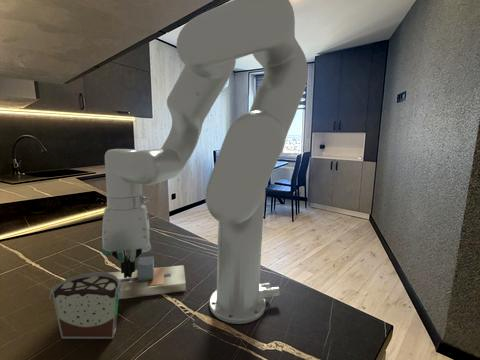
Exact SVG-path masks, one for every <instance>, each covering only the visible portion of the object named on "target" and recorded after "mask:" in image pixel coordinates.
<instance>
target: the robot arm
mask: <svg viewBox="0 0 480 360" xmlns="http://www.w3.org/2000/svg"><path fill="white" fill-rule="evenodd" d="M295 27H296V20H295V12H294V9H293V5H292V4H291V2H290V0H230V1H228V2H227V3H222V4H221V5H218V6H215V7H212V8H211V9H209V10H207V11H205V12H202V13H200V14H199V15H196V16H194V17H193V18H192V19H190V20H189V21H188V22H187V23H185V24H184V25H183V26H182V28H181V30H180V31H179V33H178V35H177V39H176V52H177V55H178V57H179V59H180V61H181V62H182V63H183V64H184V67H183V69H182V70H181V73H180V74H179V76H178V78H177V80H176V82H175V84H174V85H173V88H172V89H171V91H170V92H169V95H168V96H167V99H166V105H167V108H168V111H169V114H170V116H171V127H170V131H169V133H168V135H167V138H166V140H165V141H164V143H163V145H162V147H161V148H155V149H154V148H153V149H142V150H136V149H133V148H131V149H130V148H113V149H108V150H107V151H106V152H105V154H104V171H105V187H106V203H107V204H106V205H107V206H106V207H105V208H104V210H103V211H104V212H103V217H102V231H101V233H102V234H101V237H102V238H101V242H102V243H101V244H102V253H101V254H102V256H112V257H114V258H115V259H116V260H118V262H119V263H120V272H121V273H124V278H127V277H129V278H131V277H132V273H133V272H135V270H136V259H137V258H139V256H140V255H141V254H144V253H146V252H147V253H148V252H150V251H151V250H152V245H151V242H150V239H151V230H150V220H149V213H148V209H147V205H145V203H149V202H150V197H149V196H145V195H144V193H143V186H153V185H156V184H159V183H163V182H164V181H168V180H171V179H174V178H175V177H177V176H178V175H180V173H181V172H182V171H183V169H184V168H185V166H186V164H187V163H188V162H189V159H191V157H192V155H193V153H194V152H195V149H196V147H197V145H198V141H199V139H200V135H201V132H202V128H203V124H204V122H205V119H206V118H207V116H208V114H209V113H210V111H211V109H212V107H213V105H214V104H215V102H216V101H217V99H218V97H219V95H220V94H221V92H222V91H223V89H224V88H225V86H226V84H227V83H228V81H229V80H230V77H231V76H232V74H233V72H234V70H235V68H236V61H237V59H240V58H243V57H247V56H250V55H252V56H253V57H254V59H255V60H256V61H257V62H258V63H259V65H261V67H262V68H263V77H262V80H261V81H260V84H259V85H258V88H257V90H256V93H255V96H254V99H253V102H252V105H251V106H250V109H249V111H248V112H247V111H246V112H245V113H243V114H241V115H239V116H238V117H237V118H236V119H235V120H234V121H233V122H232V124H231V125H230V126H229V128H228V130H227V132H226V134H225V137H224V139H223V141H222V145H221V147H220V149H219V153H218V156H217V158H216V160H215V163H214V167H213V169H212V171H211V174H210V177H209V179H208V181H207V186H206V189H205V203H206V204H205V205H206V207H207V210H208V212H209V213H210V215H211V216H212V217H213V218H214V219H215V220H216V221H218V224H217V225H218V227H217V229H218V230H217V259H216V260H217V262H216V263H217V264H216V267H217V268H216V269H217V270H216V289H215V291H214V292H213V293H211V295H210V298H209V308H210V309H209V310H210V311H211V313H212V314H213V315H214V316H215V317H216V318H218V320H221V321H223V322H225V323H228V324H235V325H236V324H237V325H242V324H248V323H252V322H254V321H256V320H259V318H261V317H262V316H263V314H264V312H265V310H266V304H267V303H266V299H267V298H268V297H277V296H280V295H281V292H280V288H279V286H271V283H270V282H263V283H261V282H260V281H261V259H262V242H263V227H264V226H263V225H264V214H265V202H266V188H267V186H268V183H269V182H270V179H271V177H272V175H273V172H274V169H275V167H276V165H277V162H278V160H279V158H280V156H281V154H282V152H283V150H284V147H285V143H286V139H287V136H288V133H289V131H290V129H291V125H292V124H293V121H294V118H295V117H296V114H297V110H298V108H299V105H300V104H301V101H302V97H303V95H304V93H305V89H306V87H307V84H308V83H307V82H308V77H309V76H308V75H309V68H308V61H307V58H306V54H305V52H304V50H303V49H302V47H301V45H300V44H299V42H298V41H297V39H296V33H295ZM126 251H130V252H129V253H130V254H129V257H128V256H127V253H126Z"/></svg>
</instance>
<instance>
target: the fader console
mask: <svg viewBox="0 0 480 360" xmlns="http://www.w3.org/2000/svg"><path fill="white" fill-rule="evenodd" d="M109 273H110V274H113V275H115V276H116V277H117V278H118V280H119V281H120V284H121V287H122V296H121V298H120V299H119V298H118V300H122V299H129V298H138V297H146V296H155V295H162V294H170V293H176V292H179V293H180V292H186V291H187V283H186V274H185V273H186V272H185V265H173V266H172V265H171V266H162V267H154V276H153V280H148V281H139V282H138V276H137V269H135V272H133V273H132V277H131V278H129V277H127V278H124V273H121V271H113V272H109Z"/></svg>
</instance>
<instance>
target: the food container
mask: <svg viewBox="0 0 480 360" xmlns="http://www.w3.org/2000/svg"><path fill="white" fill-rule="evenodd" d="M110 273H111V272H100V271H98V272H97V271H95V272H89V273H83V274H78V275H76V276H71V277H69V278H67V279H64V280H62V281H61V282H59V283H57V284H55V285H54V286H53V287H51V291H50V292H49V297H48V299H49V300H51V299H52V298H53V304H54V305H53V306H54V309H55V313H56V318H57V322H58V327H59V333H60V338H61V339H114V338H115V336H116V335H117V333H116V332H117V321H118V309H119V308H118V306H119V300H121V299H120V298H121V296H122V287H121V284H120V281H119V280H118V278H117V277H116V276H115V275H113V274H110ZM118 298H119V299H118Z"/></svg>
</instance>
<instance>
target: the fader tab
mask: <svg viewBox="0 0 480 360" xmlns="http://www.w3.org/2000/svg"><path fill="white" fill-rule="evenodd" d="M154 268H155V256H153V255H152V256H151V255H150V256H142V257H139V256H138V261H137V265H136V270H137V276H138V282H139V281H148V280H153V276H154Z"/></svg>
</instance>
